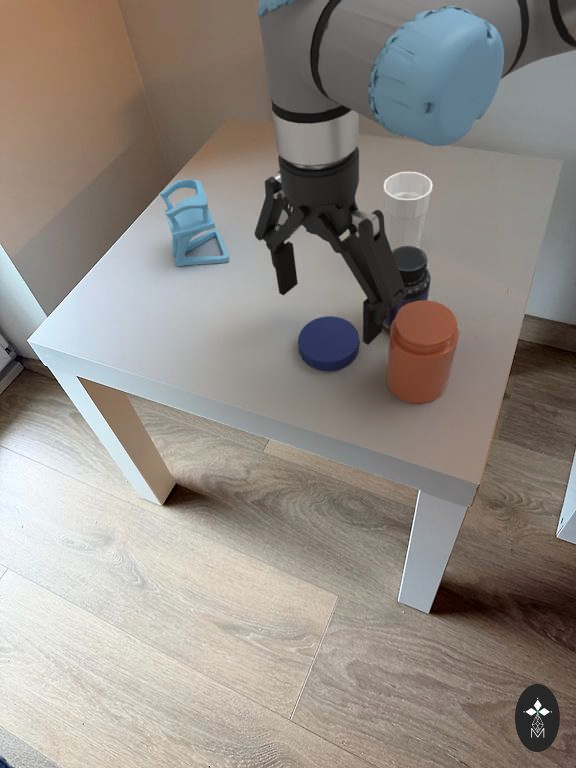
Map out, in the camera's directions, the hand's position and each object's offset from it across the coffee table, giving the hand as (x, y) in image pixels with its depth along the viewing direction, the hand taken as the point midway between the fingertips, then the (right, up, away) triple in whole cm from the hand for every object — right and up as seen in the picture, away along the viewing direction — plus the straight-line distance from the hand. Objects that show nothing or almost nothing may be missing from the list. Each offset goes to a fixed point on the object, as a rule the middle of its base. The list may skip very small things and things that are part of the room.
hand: (328, 311), depth 66 cm
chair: (-19, +12, +20) cm, 30 cm away
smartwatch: (-5, +17, +22) cm, 29 cm away
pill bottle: (+11, 0, +8) cm, 13 cm away
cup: (+13, +12, +16) cm, 24 cm away
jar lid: (0, -3, +5) cm, 6 cm away
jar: (+11, -8, +2) cm, 14 cm away
